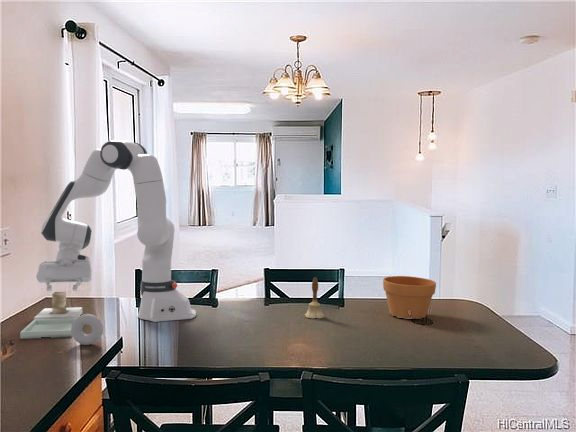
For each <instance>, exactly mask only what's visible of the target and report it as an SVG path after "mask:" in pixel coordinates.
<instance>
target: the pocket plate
mask: <svg viewBox="0 0 576 432" xmlns="http://www.w3.org/2000/svg"><path fill="white" fill-rule="evenodd" d="M81 314H82V315H83V306H82V307H80V306H79V307H66V314H52V308H51V307H50V308H49V307H47V308H43V309H42V310H41V311H40V312H39V313H37V315H35V316H34V317H33V320H40V319H69V318H77V317H79V316H80V315H81Z"/></svg>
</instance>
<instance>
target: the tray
mask: <svg viewBox="0 0 576 432" xmlns="http://www.w3.org/2000/svg"><path fill="white" fill-rule="evenodd" d="M75 319H76V318H69V319H40V320H34V319H33V320H32V321H31V322H30V323H29V324H27V326H25V327H24V328H23V329H22V330H21V331H20V333H19V339H21V340H23V339H24V340H25V339H42V338H41V337H51V338H68V337H69V338H73V336H72V334H71V326H72V323H73V322H74V320H75Z"/></svg>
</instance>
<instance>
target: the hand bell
mask: <svg viewBox="0 0 576 432" xmlns="http://www.w3.org/2000/svg"><path fill="white" fill-rule="evenodd" d="M311 289H312V302H310V303H308V308H307V311H306V313H305V314H304V315H305V316H306V317H308V318H322V317H324V318H325V315H324V314H323V313H322V309H321V304H320V303H319V302H318V291H319V281H318V278H317V277H313V279H312V282H311ZM308 318H307V319H308Z"/></svg>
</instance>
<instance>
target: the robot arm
mask: <svg viewBox="0 0 576 432" xmlns="http://www.w3.org/2000/svg"><path fill="white" fill-rule="evenodd" d="M116 170H128V171H130V173H131V175H132V179H133V186H134V191H135V192H134V193H135V198H136V199H135V200H136V203H137V205H136V206H137V233H136V236H137V239H138V240H139V242H140V243H141V244H142V245H144V246H145V247H144V252H143V253H144V254H143V258H142V259H141V263H142V264H141V270H142V271H141V272H142V273H141V281H140V296H141V300H140V306H139V308H138V309H139V310H138V312H137V313H138V314H137V318H139V319H141V320H145V321H146V320H147V321H150V322H153V323H155V322H156V323H157V322H158V323H159V322H169V321H178V320H180V321H181V320H191V319H195V317H196V316H197V311H196V310H195V309H194V308H192V306H191V303H190V300H189V298H188V297H187V296H186V295H185V294H183V293H181V291H179V290H178V289H177V288H178V283H177V282H176V281H175V280H173V279H172V256H173V248H174V239H175V236H174V235H175V225H174V224H173V221H171V220H170V219H169V218H167V196H166V190H165V189H166V188H165V186H164V179H163V174H162V171H161V166H160V164H159V161H158V159H157V157H155V156H154V155H152V154H148V151H147V150H146V148H145V147H144V146H143V145H141V143H138V142H132V141H130V140H129V141H128V140H120V139H119V140H117V139H113V140H109V141H106V142H105V143H104V144H103V145H102V146H101V148H96V149H94V150H93V151H92V152H91V154H90V155H89V157H88V159H87V161H86V163H85V165H84V167H83V170H82V173H81V174H80V176H79V177H77V179H75V180H71V181H70V182H69V183H68V184H67V185H66V187H65V189H64V190H63V192H62V193H61V194H60V197H59V198H58V200H57V202H56V203H55V205H54V207H53V209H52V211H51V212H50V214H49V215H48V217H47V218H46V219H45V221H44V222H43V224H42V227H41V232H40V233H41V235H42V236H43V237H44V239H45V240H46V241H49V242H58V243H59V245H58V249H59V250H58V251H57V254H56V259H55V260H54V261H53V260H52V261H45V260H44V261H43V262H40V263H39V266H38V270H37V273H36V277H35V278H36V281H38V283H40V284H43V283H44V284H45V285H46V291H47V292H52V290H53V287H52V285H51V283H75V284H72V290H73V291H78V288H79V287H80V286H82V283H88V282H89V283H90V282H91V281H92V279H93V272H92V270H93V269H92V267H91V264H92V263H91V260H90V257H89V256H87V255H84V254H81V252H82V250H84V249H85V248H87V247H88V246H89V245H90V243H91V236H92V228H91V227H90V225H89V224H86V223H84V222H80V221H75V220H71V219H67V218H63V215H64V213H65V212H66V210H67V208H68V206H69V205H70V203H71V202H72V201H74V200H78V199H82V198H83V199H84V198H85V199H86V198H87V199H88V198H96V197H99V196H102V195H103V194H104V193H106V191H107V190H108V189H109V187H110V184H111V181H112V178H113V175H114V173H115V171H116Z"/></svg>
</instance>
